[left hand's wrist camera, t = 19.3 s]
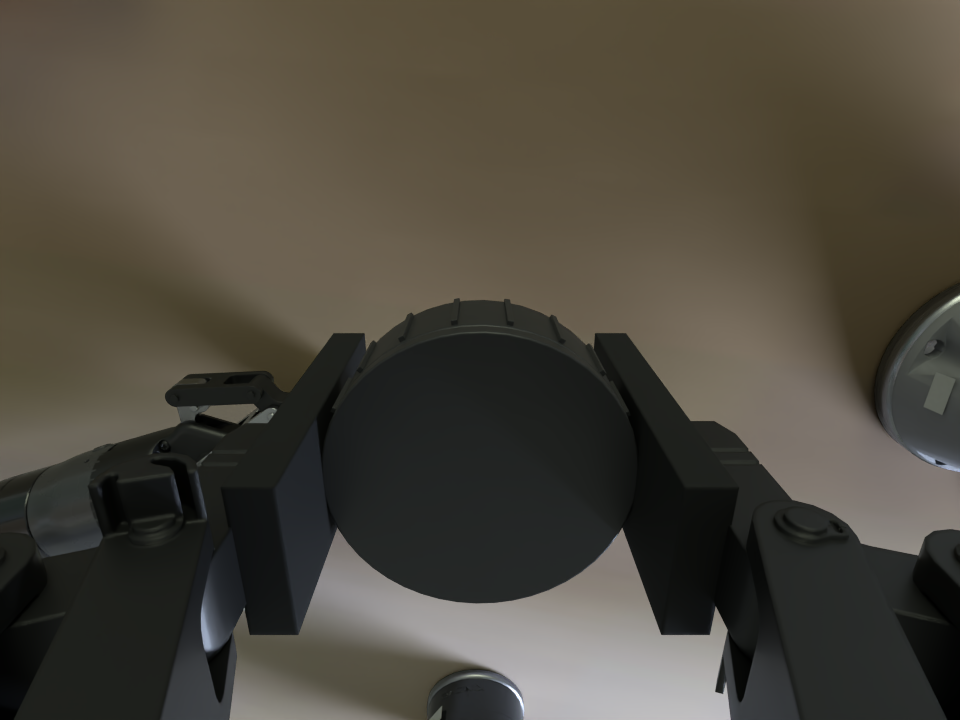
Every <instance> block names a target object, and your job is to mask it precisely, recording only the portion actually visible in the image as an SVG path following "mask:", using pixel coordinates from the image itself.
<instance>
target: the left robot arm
mask: <svg viewBox="0 0 960 720" xmlns="http://www.w3.org/2000/svg"><path fill="white" fill-rule="evenodd" d="M594 351H595V353H596V355H597V357H598V358H599V360H600V362H601V364H602V366H603V368H604V370H605V372H606V376H607V378H608V380H609V382H610V381H613V382H614V384H615V386H616V388H617V390H618V392H619V394H620V395H621V397H622V399H623V401H624V403H625V405H626V406H627V408H628V410H629V412H630V416H628V419H629V422H630V424H631V427H632V429H633V432H634V436H635V440H636V445H637V449H638V469H637V478H636V487H635V494H634V501H633V504H632V507H631V510H630V512H629V515H628V517H627V520H626V521H625V523H624V525H623V527H622V528H623V530H624V533H625V536H626V539H627V541H628V544H629V547H630V550H631V552H632V555H633V558H634V561H635V564H636V566H637V569H638V572H639V575H640V577H641V580H642V583H643V586H644V588H645V591H646V594H647V597H648V599H649V602H650V605H651V608H652V610H653V613H654V616H655V619H656V621H657V624H658V627H659V630H660V632H661V635H710V631H711V626H712V621H713V616H714V611H715V606H716V607H717V609H718V611H719V613H720V615H721V617H722V619H723V621H724V623H725V625H726V627H727V629H728V631H727V636H726V641H725V645H724V650H723V655H722V659H721V664H720V669H719V673H718V678H717V684H716V690H715V692H718V693H722V694H723V692H724V688H725V683H727V691H728V699H729V708H730V716H731V720H960V531H959V530H952V529H949V530H939V531H933V532H932V533H931V534H929V535H928V536H926V537H925V539H924V542H923V545H922V547H921V550H920V553H919V556H917V555H912V554H907V553H902V552H897V551H892V550H887V549H882V548H877V547H872V546H868V545H864V544H861V543H860V541H859V539H858V537H857V535H856V534H855V533H854V532H853V530H852V529H851V528H850V527H849V525H848V524H846V523H845V522H843V521H842V520H841V519H839V518H838V517H836V516H835V515H833V514H832V513H830V512H827V511H825V510H823V509H821V508H818V507H816V506H814V505H810V504H806V503H802V502H798V501H794V500H792V499H791V498H790V497H789V496H788V495H787V493H786V492H785V491H784V490H783V489H782V488H781V486H780V485H779V484H778V483H777V482H776V481H775V479H774V478H773V477H772V476H771V475H770V474H769V472H768V471H767V470H766V469H765V468H764V467H763V465H762V464H759V461H758V460H757V458H756V457H755V456H754V455H753V454H752V453H751V452H748V448H747V447H746V446H745V444H744V443H743V442H742V441H741V440H740V438H739V437H738V436H737V435H736V434H735V433H733V432H732V431H730V430H728V429H727V428H725V427H723V426H722V425H720V424H718V423H716V422H715V421H690V420H689V418H688V417H687V416H686V414H685V413H684V412H683V410H682V409H681V408H680V406H679V405H678V403H677V402H676V401H675V399H674V398H673V397H672V395H671V394H670V393H669V391H668V390H667V388H666V387H665V386H664V384H663V383H662V382H661V380H660V379H659V378H658V376H657V375H656V374H655V372H654V371H653V369H652V368H651V367H650V365H649V364H648V363H647V361H646V360H645V359H644V357H643V356H642V355H641V353H640V352H639V350H638V349H637V348H636V346H635V345H634V344H633V342H632V341H631V340H630V338H629V337H628V336H627V334H626V333H595V342H594ZM365 353H366V346H365V333H334V334H333V335H332V336H331V338H330V339H329V340H328V342H327V343H326V345H325V346H324V347H323V349H322V350H321V351H320V353H319V354H318V355H317V357H316V358H315V359H314V361H313V362H312V364H311V365H310V366H309V368H308V369H307V370H306V372H305V373H304V374H303V376H302V377H301V378H300V380H299V381H298V383H297V384H296V385H295V387H294V388H293V389H292V391H291V392H290V393H289V395H288V396H287V397H286V399H285V400H284V402H283V403H282V404H281V406H280V407H279V408H278V410H277V411H276V412H275V414H274V415H273V416H272V418H271V419H270V421H269V422H268V423H245V424H243V425H242V426H240V427H238V428H237V429H235V430H233V431H232V432H230V433H228V434H227V435H225V436H224V437H223V438H222V439H221V440H220V442H219V443H218V444H217V445H216V446H215V447H214V449H213V450H212V454H209V455H208V456H207V457H206V458H205V459H204V460H203V462H202V463H201V466H198V468H197V464H196V461H195V460H193V459H192V458H191V457H189V456H188V455H183V454H178V453H154V454H150V455H145V456H140V457H136V458H132V459H130V460H127V461H125V462H122V463H119V464H117V465H114V466H112V467H111V468H109V469H107V470H106V471H104V472H102V473H101V474H99V475H98V476H97V477H96V478H95V479H94V480H93V481H92V482H91V483H90V484H89V485H88V489H89V493H90V496H91V499H92V503H93V506H94V509H95V513H96V516H97V519H98V523H99V526H100V529H101V532H102V536H103V538H102V540H101V542H100V544H99V546H98V547H94V548H90V549H86V550H81V551H76V552H71V553H66V554H61V555H56V556H51V557H46V558H42V557H41V554H40V552H39V549H38V546H37V543H36V540H35V539H33V538H32V537H30V536H29V535H28V534H24V533H15V532H6V533H0V720H229V718H230V709H231V701H232V693H233V684H234V676H235V668H236V659H237V653H236V646H235V641H234V636H233V629H234V627H235V625H236V623H237V621H238V619H239V617H240V615H241V613H242V611H243V609H244V608H245V613H246V618H247V623H248V628H249V633H250V635H298V634H299V631H300V629H301V626H302V623H303V620H304V618H305V615H306V612H307V609H308V607H309V604H310V601H311V598H312V596H313V593H314V590H315V587H316V585H317V582H318V579H319V576H320V574H321V571H322V568H323V565H324V563H325V560H326V557H327V554H328V552H329V549H330V546H331V543H332V541H333V538H334V535H335V532H336V530H337V525H336V523H335V521H334V519H333V517H332V515H331V513H330V510H329V507H328V504H327V501H326V497H325V489H324V481H323V473H322V462H321V458H322V451H323V444H324V439H325V436H326V433H327V429H328V426H329V423H330V421H331V419H332V417H333V415H334V413H332V412H331V409H332V407H333V405H334V403H335V402H336V400H337V398H338V396H339V394H340V392H341V390H342V389H343V387H344V385H345V383H346V381H347V379H348V378H353V376H354V374H355V372H356V370H357V368H358V366H359V364H360V362H361V360H362V358H363V356H364V355H365ZM875 405H876V409H877V413H878V416H879V419H880V421H881V423H882V425H883V427H884V428H885V430H886V431H887V432H888V434H889V435H890V436H891V437H892V438H893V439H894V440H895V441H896V442H898V443H899V444H900V445H901V446H903V447H904V448H906V449H907V450H908V451H910V452H911V453H912V454H914V455H915V456H917V457H918V458H920V459H921V460H923V461H925V462H927V463H929V464H932V465H934V466H937V467H941V468H945V469H949V470H952V471H957V472H960V283H958V284H956V285H954V286H952V287H950V288H948V289H946V290H945V291H943V292H941V293H940V294H938V295H937V296H935V297H934V298H932V299H931V300H929V301H928V302H927V303H926V304H924V305H923V306H922V307H921V308H919V309H918V310H917V311H916V312H915V313H914V314H913V315H912V316H911V317H910V318H909V319H908V320H907V321H906V322H905V323H904V324H903V326H902V327H901V328H900V329H899V331H898V332H897V333H896V335H895V336H894V338H893V339H892V340H891V342H890V344H889V346H888V347H887V349H886V351H885V353H884V355H883V358H882V360H881V363H880V365H879V368H878V372H877V376H876V382H875Z"/></svg>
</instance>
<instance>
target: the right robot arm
mask: <svg viewBox="0 0 960 720" xmlns="http://www.w3.org/2000/svg"><path fill="white" fill-rule="evenodd" d="M288 395H289V393H286V392H283V391H281V390H280V389H279V388H278V387H277V386H276V385H275V384H274V378H273V376H272V375H271V374H270V373H269V372H267V371H251V372H229V373H206V374H189V375H187V376H186V377H184V378H183V379H182V380H180V381H179V382H178V383H177V384H175V385H174V386H173V387H172V388H171V389H170V390H168V391H167V392H166V394H165V399H166V401H167V402H168V403H169V404H170V405H171V406H174V407H177V409H178V412H179V416H180V420H181V423H180V424H178V425H177V426H176V427H171V428H167V429H164V430H161V431H157V432H154V433H150V434H147V435H143V436H140V437H136V438H133V439H129V440H126V441H122V442H119V443H115V444H106V445H103V446H100V447H97V448H95V449H94V450H91V451H88V452H85V453H82V454H80V455H77V456H75V457H73V458H71V459H69V460H66V461H64V462H62V463H59V464H56V465H52V466H49V467H45V468H42V469H38V470H35V471H31V472H28V473H25V474H21V475H18V476H14V477H11V478H8V479H5V480H3V481H0V533H6V532H15V533H24V534H28V535H29V536H30V537H32V538H33V539H35V540H36V543H37V546H38V549H39V552H40V554H41V557H42V558H46V557H51V556H56V555H61V554H66V553H71V552H76V551H81V550H86V549H90V548H94V547H98V546H99V544H100V542H101V540H102V538H103V536H102V532H101V529H100V526H99V523H98V519H97V516H96V513H95V509H94V506H93V503H92V499H91V496H90V493H89V489H88V485H89V484H90V483H91V482H92V481H93V480H94V479H95V478H96V477H97V476H98V475H99V474H101V473H102V472H104V471H106V470H107V469H109V468H111V467H112V466H114V465H117V464H119V463H122V462H125V461H127V460H130V459H132V458H136V457H140V456H145V455H150V454H154V453H178V454H183V455H188V456H189V457H191V458H192V459H193V460H195V461H196V464H197V468H198V466H201V463H202V462H203V460H204V459H205V458H206V457H207V456H208V455H209V454H212V450H213V449H214V447H215V446H216V445H217V444H218V443H219V442H220V440H221V439H222V438H223V437H224V436H225V435H227V434H228V433H230V432H232V431H233V430H235V429H237V428H238V427H240V426H242V425H243V424H245V423H268V422H269V421H270V419H271V418H272V416H273V415H274V414H275V412H276V411H277V410H278V408H279V407H280V406H281V404H282V403H283V402H284V400H285V399H286V397H287V396H288ZM232 404H254V405H255V406H256V407H257V409H255V410H254V411H253V412H251V413H250V414H249V415H247V416H246V417H245V418H243V419H242V420H241V421H239V422H238V423H237V424H236V423H232V422H229V421H225V420H222V419H218V418H215V417H212V416H208V415H205V414H201V412H204V411H206V410H207V409H208V408H209V407H210V406H211V405H232ZM427 716H428V717H427V720H523V716H524V705H523V697H522V694H521V692H520V690H519V689H518V688H517V686H516V685H515V684H514V683H513V682H512V681H510V680H509V679H507V678H506V677H504V676H502V675H500V674H497V673H494V672H491V671H485V670H465V671H460V672H456V673H453V674H451V675H449V676H447V677H445V678H443V679H442V680H440V681H439V682H438V683H437V684H436V685H435V686H434V687H433V689H432V690H431V692H430V694H429V697H428V705H427Z"/></svg>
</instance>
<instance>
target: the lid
mask: <svg viewBox="0 0 960 720" xmlns="http://www.w3.org/2000/svg"><path fill="white" fill-rule="evenodd" d="M331 412H332V413H334V415H333V417H332V419H331V421H330V423H329V426H328V429H327V433H326V436H325V439H324V444H323V451H322V458H321V462H322V473H323V481H324V489H325V497H326V501H327V504H328V507H329V510H330V513H331V515H332V517H333V519H334V521H335V523H336V525H337V527H338V529H339V530H340V532H341V533H342V535H343V536H344V538H345V539H346V541H347V542H348V544H349V545H350V546H351V547H352V548H353V549H354V550H355V552H356V553H357V554H358V555H359V556H360V557H361V558H362V559H363V560H365V561H366V562H367V563H368V564H369V565H370V566H371V567H372V568H374V569H375V570H377V571H378V572H380V573H381V574H383V575H384V576H385V577H387V578H388V579H390V580H392V581H394V582H396V583H398V584H400V585H402V586H403V587H406V588H408V589H411V590H413V591H416V592H418V593H421V594H424V595H427V596H431V597H434V598H438V599H443V600H449V601H455V602H464V603H497V602H504V601H512V600H517V599H521V598H525V597H529V596H533V595H536V594H539V593H541V592H544V591H547V590H550V589H552V588H554V587H556V586H558V585H560V584H562V583H564V582H566V581H568V580H569V579H571V578H573V577H574V576H576V575H577V574H579V573H581V572H582V571H583V570H584V569H586V568H587V567H588V566H589V565H591V564H592V563H593V562H594V561H596V560H597V559H598V558H599V557H600V555H601V554H602V553H603V552H604V551H605V550H606V549H607V548H608V547H609V546H610V544H611V543H612V542H613V540H614V539H615V538H616V536H617V535H618V534H619V532H620V530H621V528H622V527H623V525H624V523H625V521H626V520H627V517H628V515H629V512H630V510H631V507H632V504H633V501H634V494H635V487H636V478H637V469H638V449H637V445H636V440H635V436H634V432H633V429H632V427H631V424H630V422H629V419H628V416H630V412H629V410H628V408H627V406H626V405H625V403H624V401H623V399H622V397H621V395H620V394H619V392H618V390H617V388H616V386H615V384H614V382H613V381H610V382H609V380H608V378H607V376H606V372H605V370H604V368H603V366H602V364H601V362H600V360H599V358H598V357H597V355H596V353H595V351H594V349H593V347H592V346H591V345H590V344H587V345H585V344H584V343H583V342H582V341H581V340H580V339H579V338H578V337H577V336H576V335H575V334H574V333H573V332H571V331H570V330H569V329H567V328H566V327H564V326H563V325H561V324H560V323H559V322H558V320H557V318H556V316H554V315H551V316H550V317H548V316H546V315H544V314H542V313H540V312H537V311H534V310H532V309H529V308H526V307H523V306H520V305H515V304H511V303H510V300H509V299H504V302H499V301H488V300H474V301H461V302H460V298H457V299H454V303H449V304H444V305H441V306H437V307H434V308H431V309H427V310H425V311H423V312H421V313H418V314H416V315H413V314H412V313H410V314H408V315H407V317H406V319H405V321H403V322H402V323H400V324H398V325H397V326H395V327H394V328H393V329H391V330H390V331H389V332H388V333H386V334H385V335H384V336H383V337H382V338H380V340H379V341H378V342H377V343H376V342H375V341H374V340H373V341H372V342H371V343H370V345H369V347H368V349H367V351H366V353H365V355H364V356H363V358H362V360H361V362H360V364H359V366H358V368H357V370H356V372H355V374H354V376H353V378H348V379H347V381H346V383H345V385H344V387H343V389H342V390H341V392H340V394H339V396H338V398H337V400H336V402H335V403H334V405H333V407H332V409H331Z"/></svg>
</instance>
